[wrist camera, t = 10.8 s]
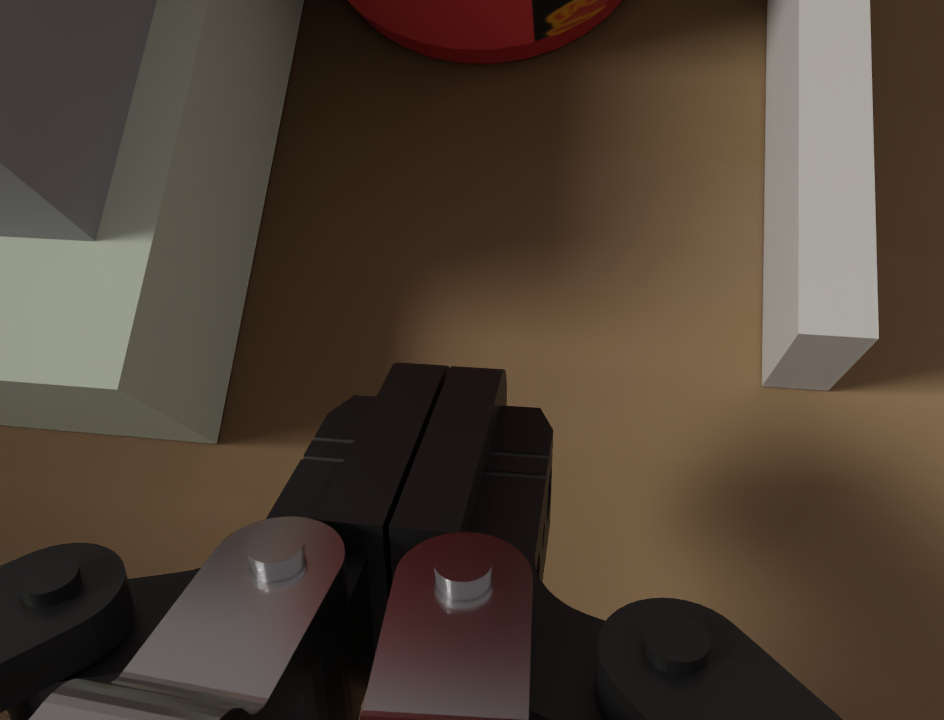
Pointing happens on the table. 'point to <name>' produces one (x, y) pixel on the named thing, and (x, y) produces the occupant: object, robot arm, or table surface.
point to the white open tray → (245, 184)
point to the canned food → (483, 26)
